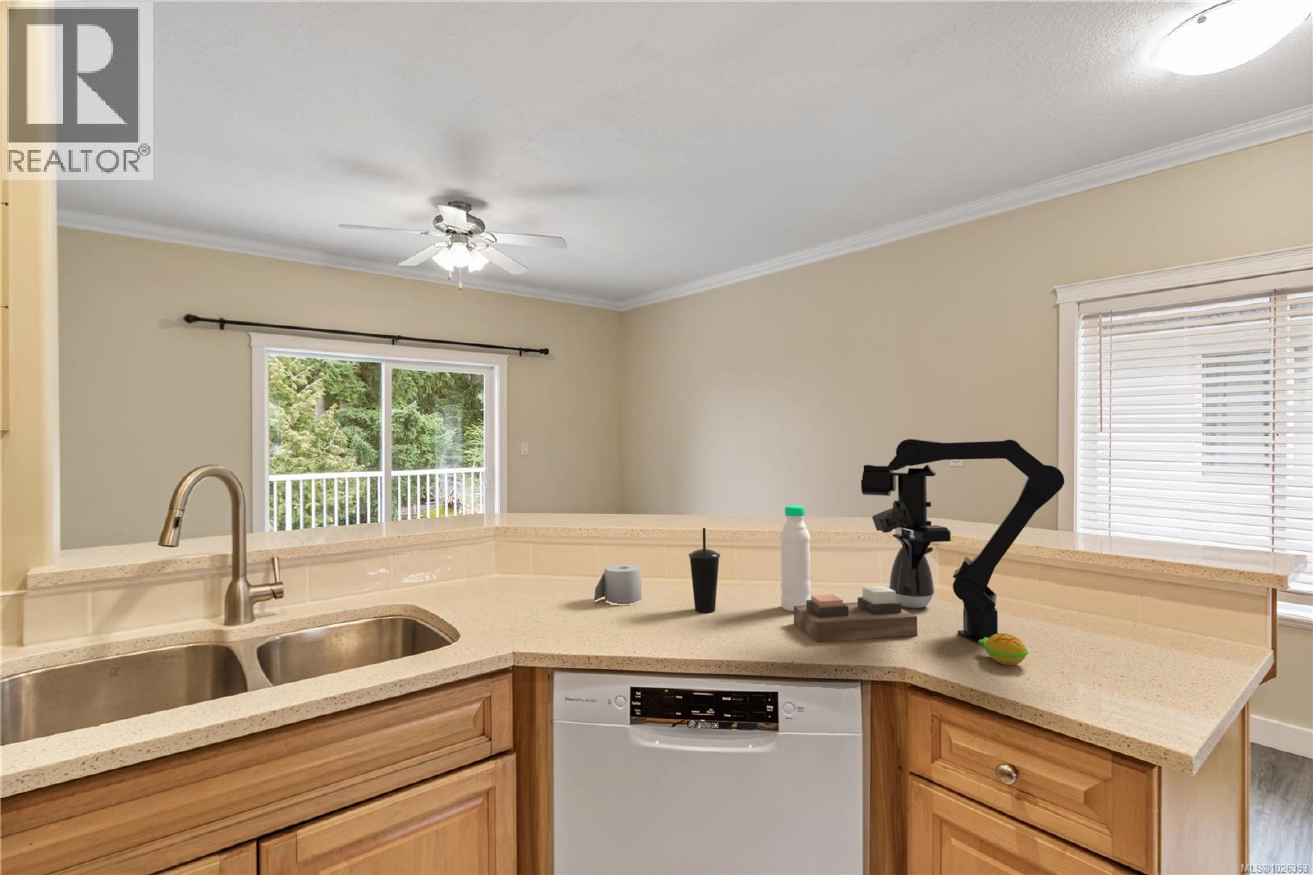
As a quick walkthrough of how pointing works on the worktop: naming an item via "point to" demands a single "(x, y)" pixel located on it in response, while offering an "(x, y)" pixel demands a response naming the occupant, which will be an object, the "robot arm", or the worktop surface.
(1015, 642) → the maraca
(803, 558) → the water bottle
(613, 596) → the toilet tissue
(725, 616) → the worktop surface
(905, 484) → the robot arm
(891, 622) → the console
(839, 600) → the terracotta key
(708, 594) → the drinking cup
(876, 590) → the white key
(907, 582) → the pump dispenser
